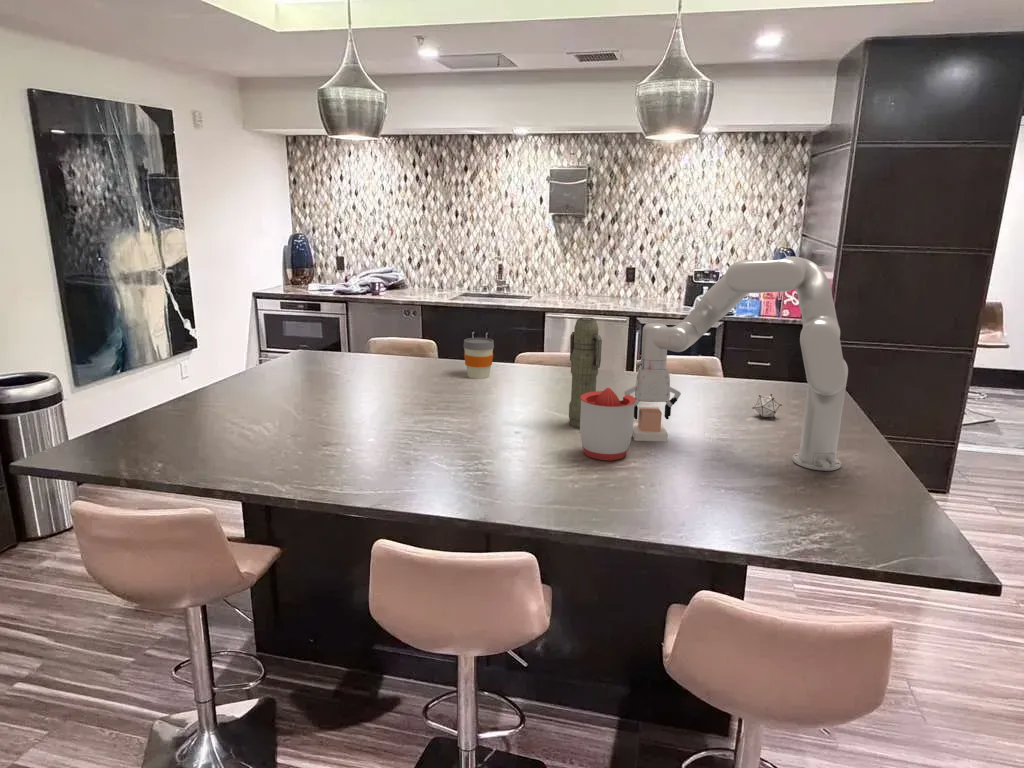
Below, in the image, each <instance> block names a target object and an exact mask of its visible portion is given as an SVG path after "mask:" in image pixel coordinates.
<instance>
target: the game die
mask: <svg viewBox="0 0 1024 768" xmlns="http://www.w3.org/2000/svg"><path fill="white" fill-rule="evenodd" d="M758 397H759V398H758V399H757V402H756V404H754V406H752V407H751V409H754V410H755V411H756V412H757V413H758V414H759V416H761V420H763V419H764V418H771V417H772V418H773V419H776V417H775V415H776V413H777V411H778V409H779V408H780V407H781V406H783V404H779V402H777V401H776V399H775V397H773V394H772V393H771V394H769V395H765V396H761V394H758Z"/></svg>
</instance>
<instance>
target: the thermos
mask: <svg viewBox="0 0 1024 768" xmlns="http://www.w3.org/2000/svg"><path fill="white" fill-rule="evenodd" d="M602 341H603V340H602V337H601V336H600V335H599V326H598V322H597V320H596V319H595V318H593V317H579V318H578V319H576V322H575V325H574V331H572V332H571V334H570V344H569V345H570V347H569V348H570V349H569V350H570V351H569V361H570V374H571V393H570V394H571V395H570V401H569V403H568V405H569V406H568V418H569V419H568V421H569V422H568V426H569V427H571V428H574V429H579V430H580V414H581V399H580V397H581V395H583V394H585V393H588V392H594V391H597V376H598V374H599V369H600V367H601V361H602V344H603V342H602Z"/></svg>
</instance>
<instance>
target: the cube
mask: <svg viewBox="0 0 1024 768" xmlns="http://www.w3.org/2000/svg"><path fill="white" fill-rule="evenodd" d="M637 419H638V420H637V423H638V426H639V428H640V431H655V432H660V430H661V424H662V411H661V409H660V408H659V407H656V406H653V407H652V406H651V407H650V406H648V407H647V406H639V407H638V416H637Z"/></svg>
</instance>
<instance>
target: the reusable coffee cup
mask: <svg viewBox="0 0 1024 768" xmlns="http://www.w3.org/2000/svg"><path fill="white" fill-rule="evenodd" d="M494 343H495V342H494V339H491V338H487V337H468V338H465V339H464V340H463V349H464V353H463V356H464V364H465V366H466V373H467V377H468V378H470V379H477V380H478V379H479V380H481V379H482V380H483V379H487V378H490V374H491V373H490V372H491V366H492V364H493V359H494V353H493V351H494V348H495V344H494Z"/></svg>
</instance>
